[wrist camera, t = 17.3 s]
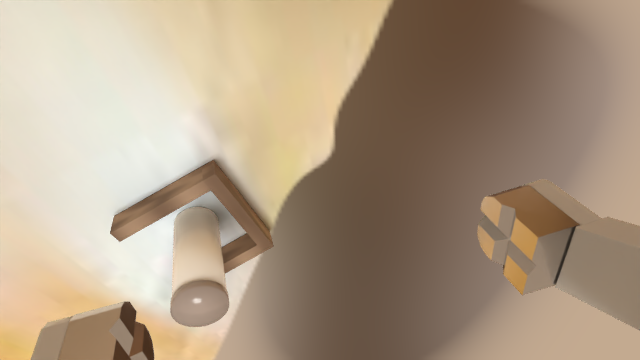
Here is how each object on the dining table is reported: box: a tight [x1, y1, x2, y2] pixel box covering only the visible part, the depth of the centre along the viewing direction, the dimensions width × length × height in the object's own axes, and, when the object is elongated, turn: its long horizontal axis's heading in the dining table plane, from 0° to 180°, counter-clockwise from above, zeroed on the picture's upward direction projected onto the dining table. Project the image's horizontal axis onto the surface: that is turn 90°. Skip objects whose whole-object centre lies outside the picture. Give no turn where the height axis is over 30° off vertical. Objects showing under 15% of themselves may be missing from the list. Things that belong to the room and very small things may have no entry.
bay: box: [110, 160, 273, 273], centre depth 48 cm, size 13×13×3 cm
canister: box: [171, 207, 229, 327], centre depth 44 cm, size 5×5×13 cm
